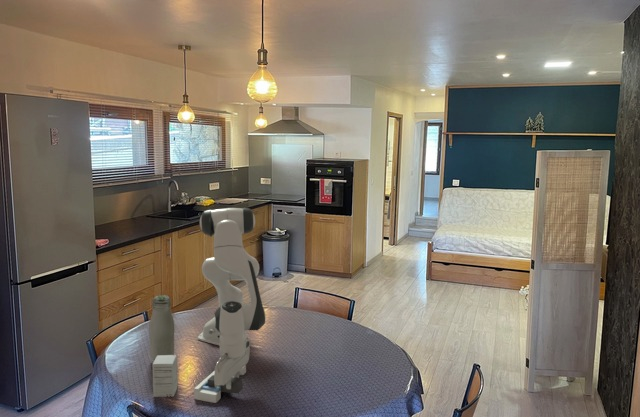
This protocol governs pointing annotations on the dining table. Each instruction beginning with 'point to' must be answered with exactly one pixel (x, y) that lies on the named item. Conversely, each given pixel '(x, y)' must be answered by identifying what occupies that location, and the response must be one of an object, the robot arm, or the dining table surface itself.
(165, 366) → the supplement box
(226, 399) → the dining table surface
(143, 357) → the dining table surface
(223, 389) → the banded gray post
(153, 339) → the glass bottle
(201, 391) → the white angular block assembly
